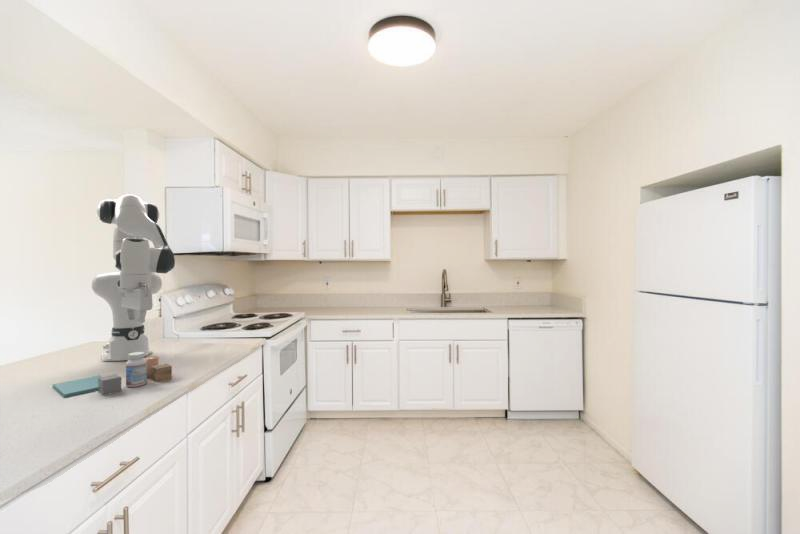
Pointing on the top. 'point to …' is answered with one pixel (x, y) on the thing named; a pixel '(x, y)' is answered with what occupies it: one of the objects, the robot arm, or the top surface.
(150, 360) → the peach capsule cylinder
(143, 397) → the top surface
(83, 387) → the teal board
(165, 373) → the walnut block
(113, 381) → the charcoal block
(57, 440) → the top surface
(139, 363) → the pill bottle
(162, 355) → the top surface
